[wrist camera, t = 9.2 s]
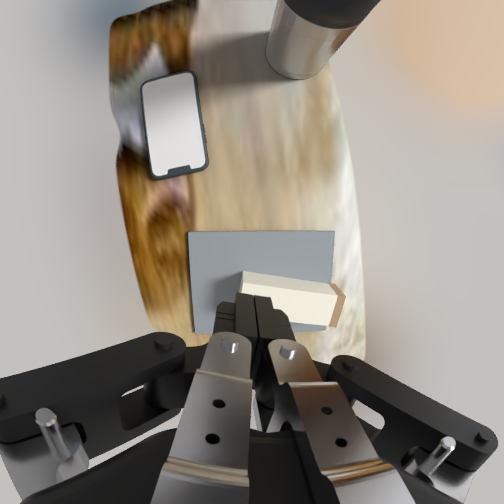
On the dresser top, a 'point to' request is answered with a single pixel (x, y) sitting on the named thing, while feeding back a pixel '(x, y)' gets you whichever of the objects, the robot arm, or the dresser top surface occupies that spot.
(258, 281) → the cream block
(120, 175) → the dresser top surface
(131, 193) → the dresser top surface
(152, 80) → the dark grey smartphone
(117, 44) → the dresser top surface
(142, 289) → the dresser top surface
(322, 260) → the rubber mat
